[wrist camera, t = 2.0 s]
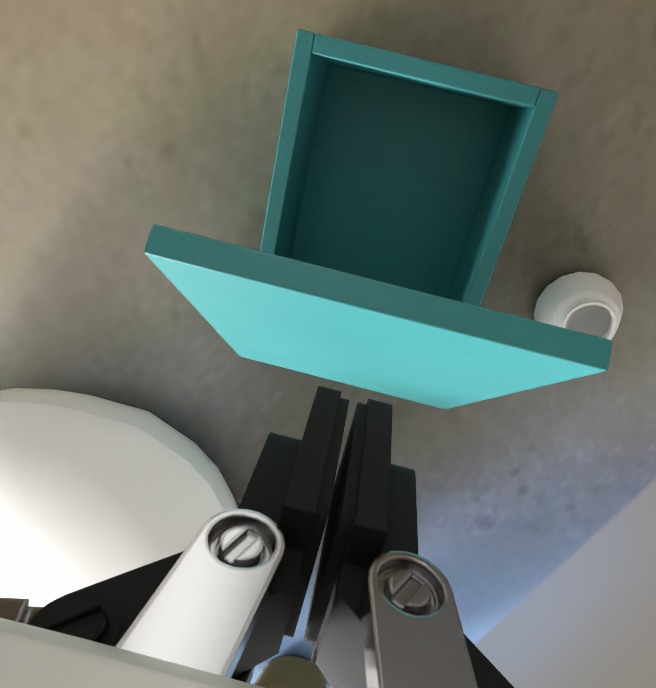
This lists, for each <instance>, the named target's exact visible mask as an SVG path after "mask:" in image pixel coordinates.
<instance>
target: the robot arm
mask: <svg viewBox="0 0 656 688" xmlns="http://www.w3.org/2000/svg"><path fill="white" fill-rule="evenodd" d="M340 397H341V391H337V390H333V389H329V388H325V387H322V386H318V389H317V392H316V396H315V399H314V402H313V405H312V409H311V412H310V415H309V419H308V422H307V425H306V428H305V432H304V435H303V438H302V440H298V439H294V438H291V437H287V436H283V435H279V434H275V433H272V432H271V433H270V434H269V436H268V438H267V440H266V443H265V445H264V448H263V450H262V453H261V455H260V458H259V460H258V462H257V465H256V467H255V470H254V472H253V475H252V477H251V479H250V482H249V484H248V487H247V489H246V492H245V494H244V497H243V499H242V501H241V504H240V506H239V509H230V510H225V511H221V512H219V513H217V514H215V515H213V516H211V517H210V518H209V519H208V520H207V521H206V522H205V523H204V524H203V525H202V527H201V528H200V530H199V531H198V532H197V534H196V535H195V537H194V538H193V539H192V541H191V542H190V544H189V545H188V546H187V548H186V549H185V550H184V551H182V552H180V553H177V554H174V555H172V556H169V557H166V558H163V559H161V560H158V561H155V562H153V563H150V564H147V565H144V566H142V567H139V568H136V569H134V570H131V571H128V572H126V573H123V574H120V575H117V576H115V577H112V578H109V579H107V580H104V581H101V582H98V583H96V584H93V585H90V586H88V587H85V588H82V589H80V590H77V591H74V592H71V593H69V594H66V595H64V596H62V597H60V598H58V599H56V600H54V601H52V602H50V603H48V604H47V605H46V606H44V607H35V606H29V599H23V598H1V597H0V688H265V687H261V686H257V685H254V684H250V681H251V679H252V675H253V671H254V667H255V666H256V665H258V664H260V663H261V662H263V661H265V660H267V659H269V658H270V657H272V656H274V655H276V654H277V653H279V649H280V645H281V642H282V638H283V635H287V636H290V637H293V636H294V633H295V629H296V626H297V622H298V619H299V615H300V612H301V608H302V605H303V601H304V598H305V595H306V591H307V588H308V584H309V581H310V577H311V574H312V570H313V567H314V564H315V560H316V557H317V553H318V550H319V546H320V543H321V539H322V543H321V549H320V554H319V559H318V565H317V570H316V576H315V581H314V586H313V592H312V597H311V602H310V608H309V613H308V618H307V624H306V629H305V635H304V640H305V641H309V642H312V643H314V645H313V651H312V657H311V663H315V664H316V665H317V666H318V667H319V669H320V670H321V672H322V673H323V675H324V676H325V678H326V679H327V681H328V682H329V684H328V687H327V688H514V687H513V686H512V685H511V684H510V683H509V682H508V681H507V680H506V678H505V677H504V676H503V675H502V674H501V673H500V672H499V671H498V670H497V669H496V668H495V667H494V666H493V664H492V663H491V662H490V661H489V660H488V659H487V658H486V657H485V656H484V655H483V654H482V653H481V652H480V651H479V650H478V648H477V647H476V646H475V645H474V644H473V643H472V642H471V641H470V640H469V639H468V638H467V637H466V636H465V634H464V633H463V629H462V626H461V622H460V618H459V614H458V611H457V607H456V603H455V599H454V596H453V592H452V589H451V587H450V585H449V582H448V580H447V579H446V577H445V576H444V575H443V573H442V572H441V571H440V570H439V569H438V568H437V567H436V566H435V565H433V564H432V563H431V562H430V561H429V560H427V559H425V558H423V557H421V556H419V555H418V535H417V507H416V479H415V471H414V470H412V469H409V468H405V467H401V466H397V465H393V464H391V437H392V405H391V404H387V403H383V402H379V401H376V400H372V399H368V402H367V404H362V403H358V404H357V407H356V410H355V414H354V417H353V421H352V424H351V428H350V431H349V435H348V438H347V442H346V445H345V449H344V452H343V456H342V459H341V463H340V466H339V470H338V473H337V477H336V480H335V476H336V470H337V465H338V459H339V454H340V448H341V443H342V437H343V432H344V426H345V421H346V415H347V410H348V404H349V400H347V399H343V398H340ZM334 481H335V484H334ZM323 532H324V533H323ZM322 536H323V538H322Z"/></svg>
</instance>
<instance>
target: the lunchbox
mask: <svg viewBox="0 0 656 688" xmlns="http://www.w3.org/2000/svg"><path fill="white" fill-rule="evenodd" d="M557 97H558V92H557V91H552V90H548V89H544V88H541V89H540V87H536V86H532V85H528V84H524V83H520V82H515V81H511V80H507V79H503V78H499V77H495V76H491V75H487V74H482V73H478V72H474V71H470V70H466V69H462V68H458V67H454V66H449V65H445V64H441V63H437V62H433V61H429V60H425V59H421V58H416V57H412V56H408V55H404V54H400V53H396V52H392V51H388V50H383V49H379V48H375V47H371V46H367V45H363V44H359V43H355V42H350V41H346V40H342V39H338V38H334V37H330V36H326V35H322V34H315V33H313V32H309V31H305V30H301V29H298V30H297V35H296V41H295V47H294V53H293V58H292V64H291V70H290V76H289V82H288V88H287V94H286V100H285V106H284V111H283V117H282V123H281V129H280V135H279V141H278V147H277V153H276V159H275V164H274V170H273V176H272V182H271V188H270V194H269V200H268V206H267V211H266V217H265V223H264V229H263V235H262V241H261V247H260V251H262V252H266V253H270V254H274V255H278V256H282V257H286V258H290V259H294V260H298V261H302V262H306V263H310V264H314V265H317V266H321V267H325V268H329V269H333V270H337V271H341V272H345V273H349V274H353V275H357V276H361V277H365V278H369V279H373V280H377V281H381V282H384V283H388V284H392V285H396V286H400V287H404V288H408V289H412V290H416V291H420V292H424V293H428V294H432V295H436V296H440V297H444V298H448V299H452V300H455V301H459V302H463V303H467V304H471V305H475V306H479V307H480V306H481V303H482V300H483V298H484V295H485V292H486V290H487V287H488V284H489V281H490V279H491V276H492V273H493V271H494V268H495V265H496V262H497V260H498V257H499V254H500V252H501V249H502V246H503V244H504V241H505V238H506V235H507V233H508V230H509V227H510V225H511V222H512V219H513V216H514V214H515V211H516V208H517V206H518V203H519V200H520V197H521V195H522V192H523V189H524V187H525V184H526V181H527V178H528V176H529V173H530V170H531V168H532V165H533V162H534V159H535V157H536V154H537V151H538V149H539V146H540V143H541V140H542V138H543V135H544V132H545V130H546V127H547V124H548V121H549V119H550V116H551V113H552V111H553V108H554V105H555V102H556V100H557Z"/></svg>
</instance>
